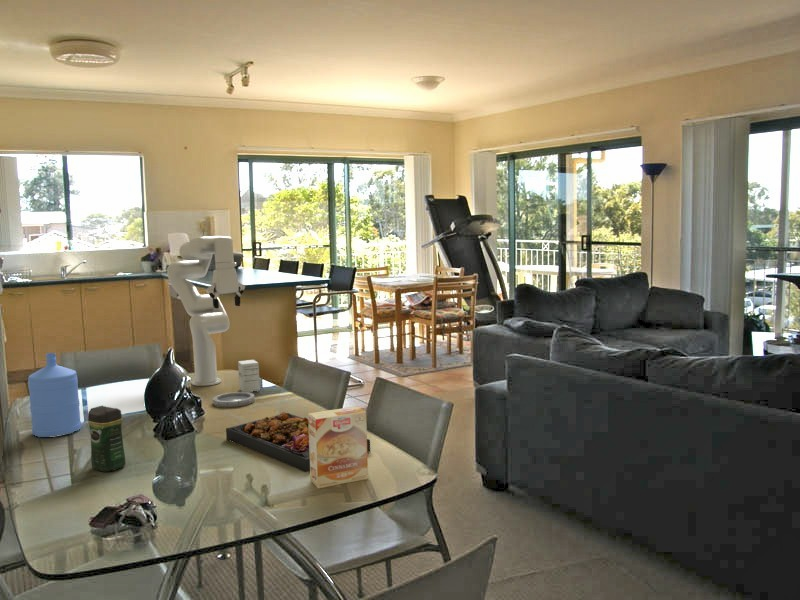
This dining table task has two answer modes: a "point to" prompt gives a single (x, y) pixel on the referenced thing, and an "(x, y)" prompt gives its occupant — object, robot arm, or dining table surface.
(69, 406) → the water jug
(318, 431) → the coffeecake box
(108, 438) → the coffee jar
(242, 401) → the saucer
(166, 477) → the dining table surface
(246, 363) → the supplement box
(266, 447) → the food platter
